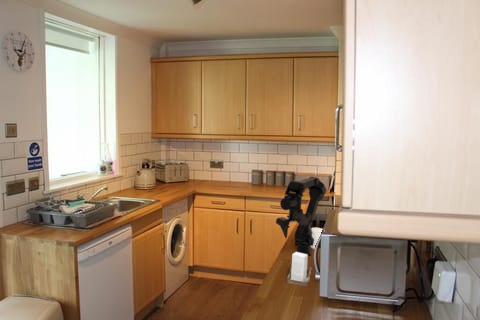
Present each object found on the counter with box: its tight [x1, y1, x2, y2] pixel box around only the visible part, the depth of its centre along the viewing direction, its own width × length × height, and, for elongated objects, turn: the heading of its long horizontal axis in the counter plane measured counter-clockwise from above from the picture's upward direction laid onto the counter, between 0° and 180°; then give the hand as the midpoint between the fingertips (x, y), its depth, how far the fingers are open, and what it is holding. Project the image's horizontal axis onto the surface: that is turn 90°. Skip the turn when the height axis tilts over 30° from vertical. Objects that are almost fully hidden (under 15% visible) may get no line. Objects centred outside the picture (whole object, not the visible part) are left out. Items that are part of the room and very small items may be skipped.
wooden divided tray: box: [286, 265, 313, 287], centre depth 196 cm, size 18×10×2 cm, turn 166°
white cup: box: [310, 227, 324, 250], centre depth 236 cm, size 8×8×10 cm
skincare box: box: [290, 251, 309, 282], centre depth 192 cm, size 6×4×12 cm
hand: (293, 236), depth 212 cm, fingers open, 9 cm apart
